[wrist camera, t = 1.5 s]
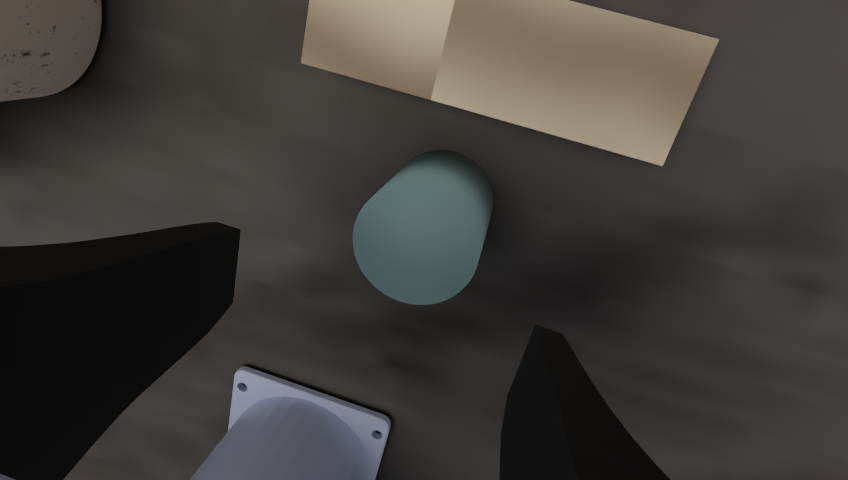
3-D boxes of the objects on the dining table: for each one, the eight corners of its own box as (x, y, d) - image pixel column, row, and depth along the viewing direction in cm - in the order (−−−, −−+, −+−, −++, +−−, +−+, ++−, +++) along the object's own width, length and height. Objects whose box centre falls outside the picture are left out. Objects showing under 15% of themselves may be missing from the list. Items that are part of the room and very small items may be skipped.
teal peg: (476, 259, 21) (459, 320, 16) (384, 230, 21) (342, 282, 17) (506, 167, 19) (496, 206, 15) (406, 137, 20) (365, 167, 15)
